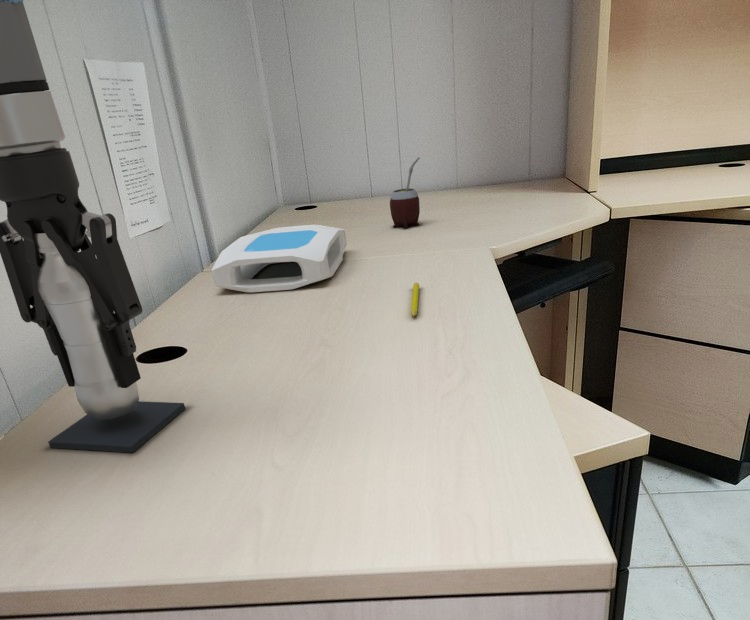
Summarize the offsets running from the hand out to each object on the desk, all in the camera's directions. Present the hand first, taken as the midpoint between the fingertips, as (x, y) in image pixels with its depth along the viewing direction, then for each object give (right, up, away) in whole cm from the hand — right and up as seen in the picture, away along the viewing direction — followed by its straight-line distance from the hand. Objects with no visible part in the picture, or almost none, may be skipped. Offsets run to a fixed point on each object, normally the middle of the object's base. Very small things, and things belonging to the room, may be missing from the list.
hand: (104, 382), depth 74 cm
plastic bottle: (0, -3, +2) cm, 4 cm away
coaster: (+1, -5, +3) cm, 6 cm away
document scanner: (+12, +33, +59) cm, 69 cm away
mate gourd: (+38, +53, +86) cm, 108 cm away
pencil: (+37, +18, +32) cm, 52 cm away
